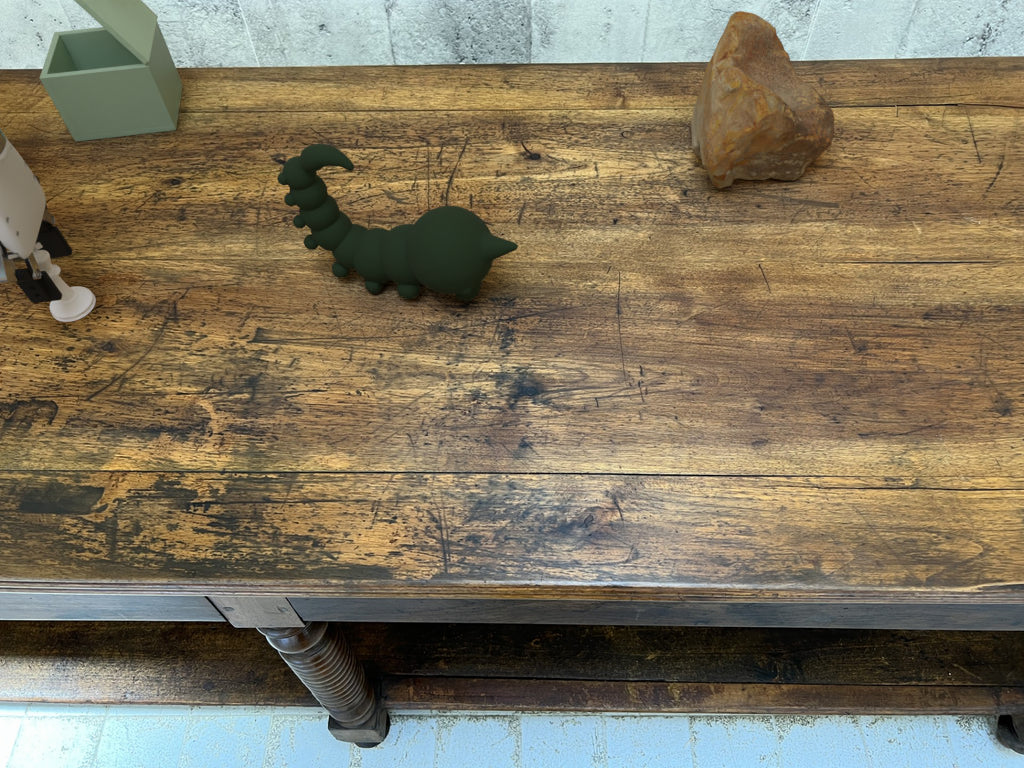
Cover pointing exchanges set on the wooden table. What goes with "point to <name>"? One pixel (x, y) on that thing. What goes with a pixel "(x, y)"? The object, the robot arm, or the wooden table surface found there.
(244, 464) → the wooden table surface
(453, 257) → the toy figurine
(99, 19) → the bin lid
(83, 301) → the chess piece
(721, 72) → the rough brown rock
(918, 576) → the wooden table surface
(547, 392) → the wooden table surface
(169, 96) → the bin
